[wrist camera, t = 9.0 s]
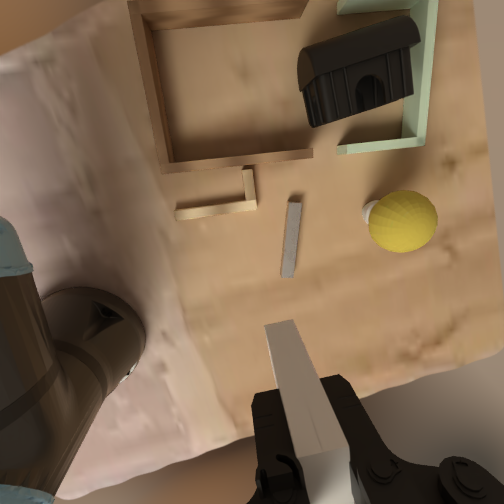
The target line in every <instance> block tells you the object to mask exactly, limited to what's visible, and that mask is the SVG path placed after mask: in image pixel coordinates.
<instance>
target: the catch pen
mask: <svg viewBox="0 0 504 504" xmlns="http://www.w3.org/2000/svg"><path fill="white" fill-rule="evenodd" d="M438 1H439V0H339V1H338V2H337V15H343V14H354V13H366V12H378V11H389V10H401V9H410V16H409V17H410V18H412V19H413V20H414V22H415V23H416V25H417V27H418V30H419V33H420V39H421V42H420V43H418V44H417V45H415V46H413V47H412V48H410V56H411V66H412V77H413V88H414V94H413V95H411V96H408V97H405V98H404V105H403V119H402V134H401V139H394V140H385V141H376V142H366V143H357V144H347V145H340V146H337V155H340V154H352V153H362V152H371V151H380V150H389V149H399V148H408V147H417V146H425V138H426V128H427V117H428V107H429V96H430V86H431V75H432V64H433V54H434V43H435V33H436V22H437V11H438Z"/></svg>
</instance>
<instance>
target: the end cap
mask: <svg viewBox="0 0 504 504" xmlns="http://www.w3.org/2000/svg"><path fill="white" fill-rule="evenodd" d="M420 42H421V39H420V33H419V30H418V27H417V25H416V23H415V22H414V20H413V19H412V18H410V17H409V16H406V15H402V16H398V17H395V18H392V19H389V20H386V21H383V22H380V23H377V24H374V25H371V26H368V27H365V28H362V29H359V30H356V31H353V32H350V33H347V34H344V35H341V36H338V37H335V38H332V39H329V40H326V41H323V42H320V43H317V44H314V45H311V46H308V47H305V48H303V49H302V50H301V51H300V53H299V57H298V63H297V75H298V84H299V90H300V92H301V91H302V93H303V98H304V103H305V107H306V112H307V117H308V121H309V125H310V126H311V127H312V128H315V127H318V126H321V125H324V124H327V123H331V122H334V121H337V120H340V119H343V118H346V117H349V116H352V115H355V114H358V113H361V112H364V111H367V110H371V109H374V108H377V107H380V106H382V105H385V104H388V103H391V102H394V101H397V100H399V99H401V98H405V97H408V96H411V95H413V94H414V88H413V77H412V66H411V56H410V48H412V47H413V46H415V45H417V44H418V43H420Z"/></svg>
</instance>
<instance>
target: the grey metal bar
mask: <svg viewBox="0 0 504 504" xmlns="http://www.w3.org/2000/svg"><path fill="white" fill-rule="evenodd" d="M301 208H302V203H301V202H294V201H287V209H286V219H285V229H284V238H283V248H282V258H281V268H280V275H281V278H293V276H294V267H295V259H296V250H297V242H298V233H299V225H300V216H301Z"/></svg>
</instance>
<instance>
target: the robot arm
mask: <svg viewBox="0 0 504 504" xmlns="http://www.w3.org/2000/svg"><path fill="white" fill-rule="evenodd" d="M33 271H34V270H33V265H32V264H31V263H30V262H28V260H27V257H26V255H25V252H24V250H23V247H22V245H21V242H20V240H19V237H18V234H17V232H16V230H15V228H14V227H13V225H12V224H11V223H10V222H9V221H8V220H6V219H5V218H3V217H1V216H0V504H53V502H54V500H55V499H54V496H55V494H56V492H57V490H58V488H59V487H60V485H61V483H62V481H63V479H64V477H65V475H66V473H67V471H68V469H69V467H70V465H71V463H72V461H73V459H74V457H75V455H76V454H77V452H78V450H79V448H80V446H81V444H82V442H83V440H84V438H85V436H86V434H87V432H88V430H89V428H90V426H91V424H92V423H93V421H94V419H95V417H96V415H97V413H98V411H99V409H100V407H101V405H102V403H103V401H104V399H105V398H106V397H107V396H108V395H109V394H110V393H111V392H112V391H113V390H114V389H115V388H116V387H117V386H118V384H120V383H121V382H122V381H124V380H125V379H126V378H127V377H128V376H129V375H130V374H131V373H132V372H133V370H134V369H135V367H136V366H137V364H138V362H139V360H140V357H141V355H142V353H143V350H144V347H145V332H144V328H143V325H142V322H141V320H140V319H139V317H138V315H137V314H136V313H135V311H134V310H133V309H132V308H131V307H130V306H129V305H128V304H127V303H125V302H124V301H123V300H121V299H120V298H118V297H117V296H115V295H113V294H110V293H108V292H105V291H102V290H99V289H94V288H87V287H75V288H68V289H64V290H61V291H58V292H56V293H53V294H52V295H50V296H48V297H47V298H46V299H44V300H43V301H42V302H41V300H40V297H39V294H38V291H37V288H36V285H35V282H34V278H33V275H32V272H33ZM264 328H265V333H266V338H267V343H268V349H269V354H270V359H271V364H272V369H273V373H274V378H275V382H276V386H277V389H274V390H269V391H265V392H260V393H256V394H255V395H254V399H253V402H252V405H251V407H252V416H253V425H254V433H255V442H256V450H257V459H258V467H257V469H256V477H255V481H256V485H257V489H256V491H255V494H254V495H253V497H252V498H251V499H250V501H249V502H248V503H247V504H354V501H355V503H356V504H504V485H503V484H501V483H500V482H499V481H498V480H497V479H496V478H495V477H494V476H492V475H491V474H490V473H489V472H488V471H487V470H486V469H484V468H483V467H481V466H480V465H478V464H477V463H476V462H474V461H471V460H469V459H466V458H464V457H456V456H452V457H448V458H445V459H444V460H443V461H442V462H441V463H440V466H439V467H435V466H427V465H419V464H414V463H409V462H407V461H404V460H402V459H400V458H399V457H397V456H396V455H394V454H393V453H392V452H391V451H390V450H389V449H388V448H387V446H386V445H385V444H384V442H383V441H382V439H381V437H380V435H379V434H378V432H377V430H376V429H375V427H374V425H373V424H372V421H371V420H370V418H369V416H368V414H367V413H366V411H365V409H364V407H363V406H362V404H361V402H360V400H359V399H358V397H357V396H356V393H355V392H354V390H353V388H352V386H351V385H350V383H349V382H348V381H347V380H346V379H344V378H343V377H342V376H341V375H339V374H338V375H333V376H329V377H324V378H320V379H319V377H318V375H317V373H316V370H315V368H314V366H313V364H312V361H311V359H310V357H309V355H308V352H307V350H306V348H305V345H304V343H303V341H302V339H301V336H300V334H299V332H298V330H297V327H296V325H295V323H294V321H293V319H292V320H287V321H282V322H278V323H273V324H268V325H264Z"/></svg>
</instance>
